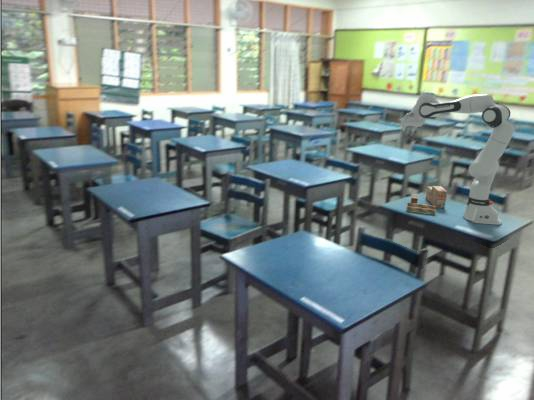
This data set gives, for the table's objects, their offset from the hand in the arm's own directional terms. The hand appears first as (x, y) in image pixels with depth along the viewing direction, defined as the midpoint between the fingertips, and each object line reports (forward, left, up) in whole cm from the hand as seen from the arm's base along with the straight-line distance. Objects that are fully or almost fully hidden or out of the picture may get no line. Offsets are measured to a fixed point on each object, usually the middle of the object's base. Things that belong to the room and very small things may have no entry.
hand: (407, 130), depth 306 cm
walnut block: (-11, +10, -49) cm, 51 cm away
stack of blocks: (-25, +1, -49) cm, 55 cm away
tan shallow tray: (-16, +24, -49) cm, 57 cm away
